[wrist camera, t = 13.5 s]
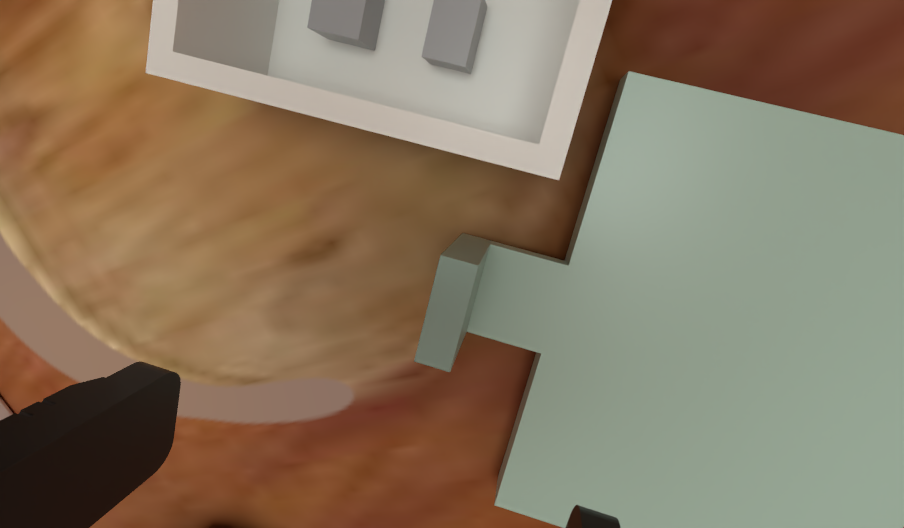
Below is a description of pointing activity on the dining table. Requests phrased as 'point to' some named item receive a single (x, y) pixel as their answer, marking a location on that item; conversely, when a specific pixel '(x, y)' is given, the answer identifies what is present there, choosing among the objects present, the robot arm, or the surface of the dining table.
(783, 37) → the dining table surface
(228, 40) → the parts tub
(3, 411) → the medicine bottle
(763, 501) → the lid
